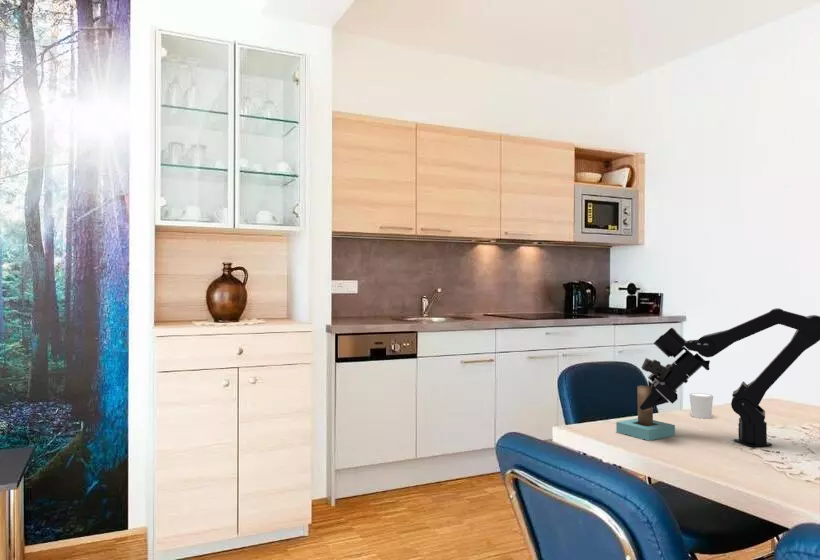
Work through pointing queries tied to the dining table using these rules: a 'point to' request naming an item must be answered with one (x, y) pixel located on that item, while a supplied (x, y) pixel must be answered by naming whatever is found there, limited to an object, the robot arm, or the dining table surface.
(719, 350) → the robot arm
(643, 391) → the walnut pin
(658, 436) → the socket block
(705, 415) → the white cup
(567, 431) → the dining table surface
